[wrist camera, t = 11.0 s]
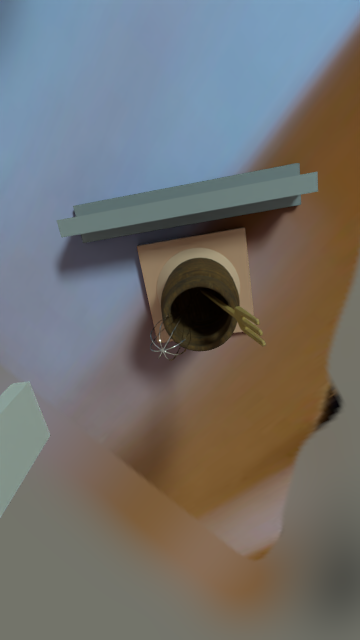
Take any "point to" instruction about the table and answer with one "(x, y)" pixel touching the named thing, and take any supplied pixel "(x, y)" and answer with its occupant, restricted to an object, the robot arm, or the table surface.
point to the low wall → (190, 203)
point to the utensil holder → (203, 307)
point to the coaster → (171, 253)
